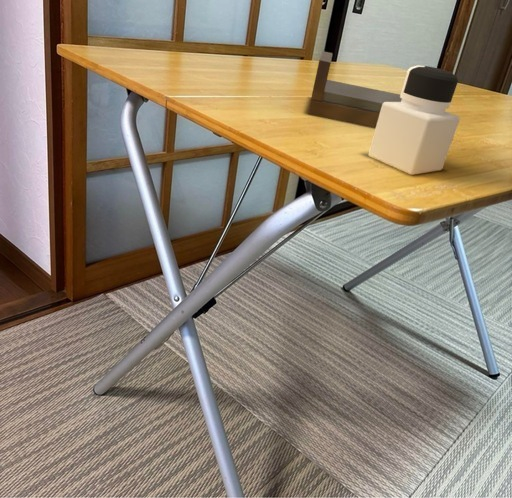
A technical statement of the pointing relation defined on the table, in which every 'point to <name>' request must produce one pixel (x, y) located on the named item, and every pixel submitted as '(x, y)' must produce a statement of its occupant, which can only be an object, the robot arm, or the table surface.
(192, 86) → the table surface
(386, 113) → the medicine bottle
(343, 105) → the l-shaped brown block
